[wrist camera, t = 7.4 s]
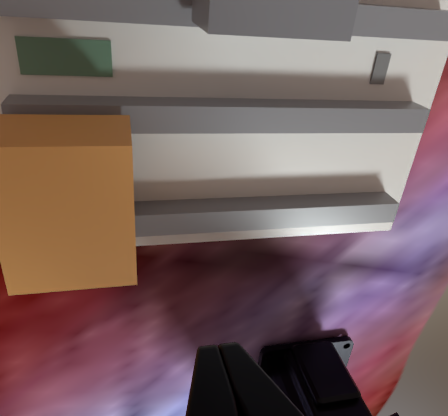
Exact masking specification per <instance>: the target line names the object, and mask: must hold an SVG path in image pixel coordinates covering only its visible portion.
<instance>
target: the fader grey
mask: <svg viewBox="0 0 448 416" xmlns="http://www.w3.org/2000/svg"><path fill="white" fill-rule="evenodd" d="M358 4H359V0H192V22H193V23H194V24H196V25H197V26H198V27H200V28H201V29H202V30H203V31H205V32H206V33H207V34H216V35H235V36H254V37H273V38H292V39H310V40H329V41H348V42H350V41H351V37H352V32H353V27H354V23H355V18H356V13H357V9H358Z"/></svg>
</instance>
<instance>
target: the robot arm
mask: <svg viewBox="0 0 448 416" xmlns="http://www.w3.org/2000/svg"><path fill="white" fill-rule="evenodd" d="M353 345H354V343H353V341H352V340H351V338H350V337H348V336H344V337H336V338H328V339H320V340H312V341H304V342H296V343H288V344H280V345H272V346H266V347H264V348H263V349H262V350H261V352H260V356H259V362H258V364H257V363H256V362H255V361H254V360H253V358H252V357H251V356H250V355H249V354H248V353H247V352H246V351H245V350H244V349H243V347H242V346H241V345H240V344H239V343H236V342H232V343H224V344H220V345H218V347H217V345H207V346H200V347H198V349H197V353H196V359H195V365H194V371H193V376H192V382H191V388H190V394H189V399H188V405H187V411H186V416H372V414H371V413H370V411H369V409H368V407H367V406H366V404H365V402H364V400H363V399H362V397H361V393H360V391H359V389H358V387H357V386H356V384H355V382H354V380H353V379H352V377H351V375H350V373H349V371H348V370H347V368H346V366H347V363H348V360H349V357H350V354H351V351H352V348H353ZM390 416H399V415H398V413H397V412H396V413H394V414H392V415H390Z"/></svg>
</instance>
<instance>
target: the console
mask: <svg viewBox="0 0 448 416" xmlns="http://www.w3.org/2000/svg"><path fill="white" fill-rule="evenodd" d="M447 56H448V0H359V4H358V9H357V13H356V18H355V23H354V27H353V32H352V37H351V41H350V42H348V41H329V40H310V39H292V38H273V37H254V36H235V35H216V34H207V33H206V32H205V31H203V30H202V29H201V28H200V27H198V26H197V25H196V24H194V23H193V22H192V0H0V114H46V115H130V124H131V137H132V154H133V181H134V209H135V236H136V246H148V245H164V244H180V243H195V242H211V241H227V240H243V239H259V238H275V237H291V236H307V235H322V234H338V233H354V232H370V231H386V230H391V227H392V224H393V222H394V219H395V216H396V213H397V210H398V207H399V203H400V200H401V196H402V193H403V190H404V187H405V184H406V181H407V178H408V175H409V172H410V169H411V166H412V163H413V160H414V157H415V154H416V151H417V148H418V145H419V142H420V139H421V135H422V133H423V131H424V128H425V125H426V122H427V119H428V116H429V113H430V108H431V105H432V102H433V99H434V96H435V93H436V90H437V87H438V84H439V81H440V78H441V75H442V71H443V68H444V65H445V62H446V59H447Z"/></svg>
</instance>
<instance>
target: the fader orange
mask: <svg viewBox="0 0 448 416" xmlns="http://www.w3.org/2000/svg"><path fill="white" fill-rule="evenodd" d="M0 262H1V266H2V271H3V275H4V279H5V283H6V287H7V291H8V296H9V295H21V294H33V293H44V292H56V291H68V290H80V289H92V288H104V287H116V286H128V285H137V264H136V236H135V209H134V181H133V154H132V137H131V124H130V115H46V114H0Z"/></svg>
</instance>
